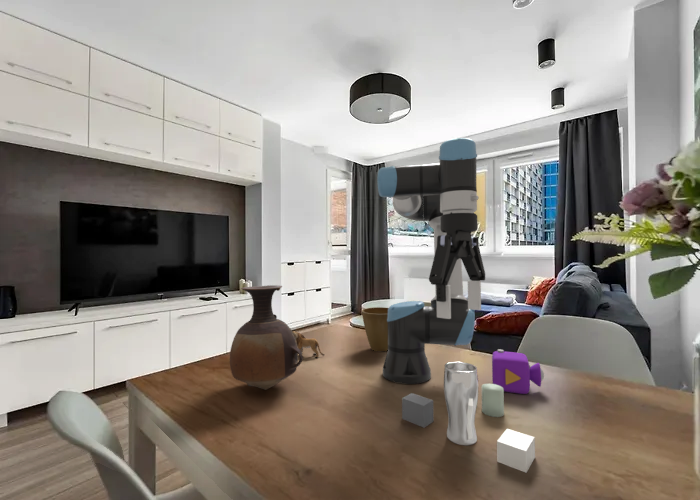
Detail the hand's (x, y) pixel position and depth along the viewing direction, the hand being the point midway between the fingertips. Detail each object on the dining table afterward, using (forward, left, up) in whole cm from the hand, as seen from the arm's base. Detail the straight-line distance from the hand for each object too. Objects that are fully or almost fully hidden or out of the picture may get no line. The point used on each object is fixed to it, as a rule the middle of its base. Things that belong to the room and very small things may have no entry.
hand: (460, 313), depth 72 cm
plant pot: (-55, +39, -26) cm, 73 cm away
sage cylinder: (0, +16, -26) cm, 31 cm away
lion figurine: (-72, +13, -27) cm, 77 cm away
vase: (-54, -15, -26) cm, 62 cm away
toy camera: (-1, +35, -27) cm, 44 cm away
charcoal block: (-11, 0, -26) cm, 29 cm away
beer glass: (0, 0, -26) cm, 26 cm away
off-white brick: (+11, 0, -26) cm, 29 cm away
